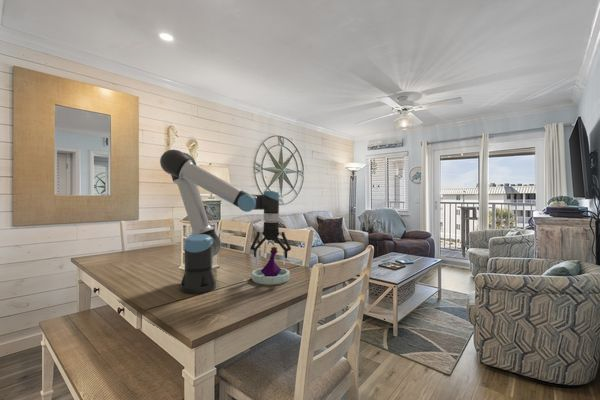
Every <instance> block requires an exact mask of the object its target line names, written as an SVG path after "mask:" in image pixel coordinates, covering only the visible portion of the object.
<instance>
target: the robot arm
mask: <svg viewBox="0 0 600 400" xmlns="http://www.w3.org/2000/svg"><path fill="white" fill-rule="evenodd" d="M159 164H160V167H161V169H162V171H164V172H165V173H166V174H169V175H171V179H172V182H173V183H174V184H176V186H177V188H178V190H179V193H180V196H181V199H182V202H183V206H184V209H185V211H186V215H187V218H188V222H189V225H190V227H191V234H190V235H189V236H187V237H186V238H185V240H184V245H183V248H184V274H183V276H182V279H181V282H180V287H179V288H180V291H181V292H182V291H183V292H182V293H184V292H185V293H184V294H201V293H203V294H204V293H207V292H211V291H212V290H215V289H216V287H217V280H216V278H215V275H214V272H213V257H215V256H216V255H217V254H218V253H219V251H220V249H221V246H222V242H221V238H220V237H219V236H218V234H217V233H216V230H215V227H214V226H211V224H210V222H209V219H208V216H207V215H208V214H207V212H206V209H205V206H204V203H203V200H202V196H201V193H200V190H199V188H198V187H200V188H202V189H203V190H206V191H208V192H209V193H211V194H213V195H215V196H217V197H219V198H221V199H222V200H224V201H226V202H228V203H230V204H232V205H233V206H236V207H238V208H239V209H240V210H241V211H243V212H245V213H248V212H251V211H253V210H255V211H256V210H260V211H262V210H263V231H260V230H257V232H256V236H255V237H254V240H253V242H252V244H251V246H250V250H252V251H253V257H254V258H255V265H258V264H260V263H259V261H260V260H259V259H260V258H259V257H260V256H259V255H260V253H259V252H260V251H259V248H260V247H261V246H262V245H263V243H265V241H273V242H274V241H275V242H276V243H278V246H280V247H281V248H282V250H283V252H282V266H285V265H286V259H288V252H290V251H291V250H292V247H291V245H290V243H289V241H288V239H287V237H286V231H279V227H280V226H279V225H280V223H279V221H280V219H279V218H280V216H279V215H280V212H279V211H280V194H279V192H278V191H277V190H264V192H263V194H250V193H248V192H247V191H244V190H242V189H241V188H238V187H236V186H234V185H233V184H231V183H229V182H227V181H225V180H223V179H222V178H220V177H218V176H216V175H215V174H213V173H211V172H208V171H207V170H205V169H204V168H201V167H199V166H198V165H197V162H196V159H194V157H193V156H192V155H190V154H189V153H186V152H182V151H181V150H178V149H168V150H166V151H164V152H163V154H161V156H160V159H159ZM260 236H263V238H262V239H261V240H260V242H259V243H257V242H258V240H259V238H260ZM279 236H280V237H282V240H283V241H284V243H283V242H282V241H281V239H280V238H279ZM256 244H257V245H256Z"/></svg>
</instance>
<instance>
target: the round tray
mask: <svg viewBox="0 0 600 400" xmlns="http://www.w3.org/2000/svg"><path fill="white" fill-rule="evenodd" d="M263 268H264V267H261V268H257V269H254V270H253V271H252V272H251V280H252V282H253V283H255V284H258V285H259V284H260V285H267V286H268V285H269V286H273V285H274V286H275V285H280V284H284V283H287V282H288V281H289V280H290V275H291V274H290V273H291V272H290V270H289V269H287V268H282V267H279V268H280V269H281V271H280V272H279V274H278V275H277V276H274V277H266V276H264V274H263V273H262V272H261V270H262V269H263Z"/></svg>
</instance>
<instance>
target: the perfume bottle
mask: <svg viewBox="0 0 600 400" xmlns="http://www.w3.org/2000/svg"><path fill="white" fill-rule="evenodd" d="M270 243H271V244H272V245H273V247H271V248H270V249H271V250H270V251H269V253H270V257H269V259H268V261H267V263H266V264H265V266H264V267H262V268H263V269H262V270H261V272H262V273H263V274H264V276H266V277H274V276H277V275H278V274H279V272H280V271H281V269H280V268H281V267H279V265H277V263H276V262H275V256H276V254H277V253H278V252H279V251H278V247H276V246H275V242H274V241H272V240H268V241H267V244H266V245H269V244H270Z"/></svg>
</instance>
